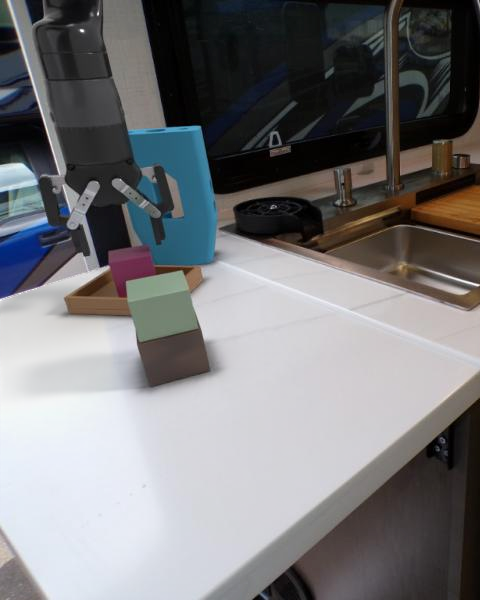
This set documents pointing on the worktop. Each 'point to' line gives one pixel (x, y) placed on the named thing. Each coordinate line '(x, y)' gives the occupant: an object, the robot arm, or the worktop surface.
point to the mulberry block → (130, 266)
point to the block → (192, 189)
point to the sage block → (161, 306)
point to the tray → (104, 296)
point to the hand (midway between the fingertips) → (123, 248)
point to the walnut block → (174, 356)
